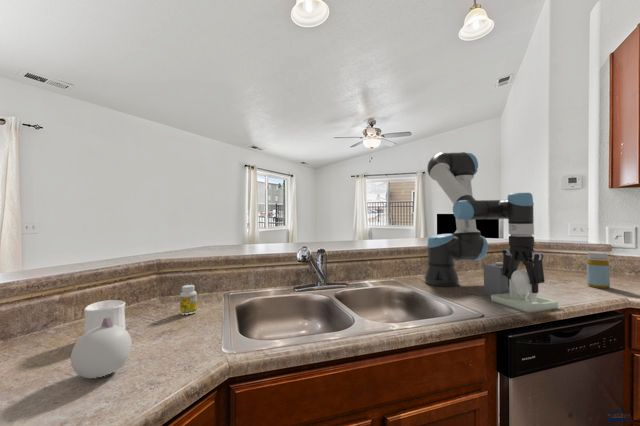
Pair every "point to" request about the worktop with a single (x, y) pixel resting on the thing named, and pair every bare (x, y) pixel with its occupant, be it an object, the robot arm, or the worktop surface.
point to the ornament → (101, 350)
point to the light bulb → (521, 283)
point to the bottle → (598, 270)
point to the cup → (104, 314)
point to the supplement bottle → (188, 299)
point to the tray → (524, 303)
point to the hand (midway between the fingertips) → (522, 299)
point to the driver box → (495, 279)
